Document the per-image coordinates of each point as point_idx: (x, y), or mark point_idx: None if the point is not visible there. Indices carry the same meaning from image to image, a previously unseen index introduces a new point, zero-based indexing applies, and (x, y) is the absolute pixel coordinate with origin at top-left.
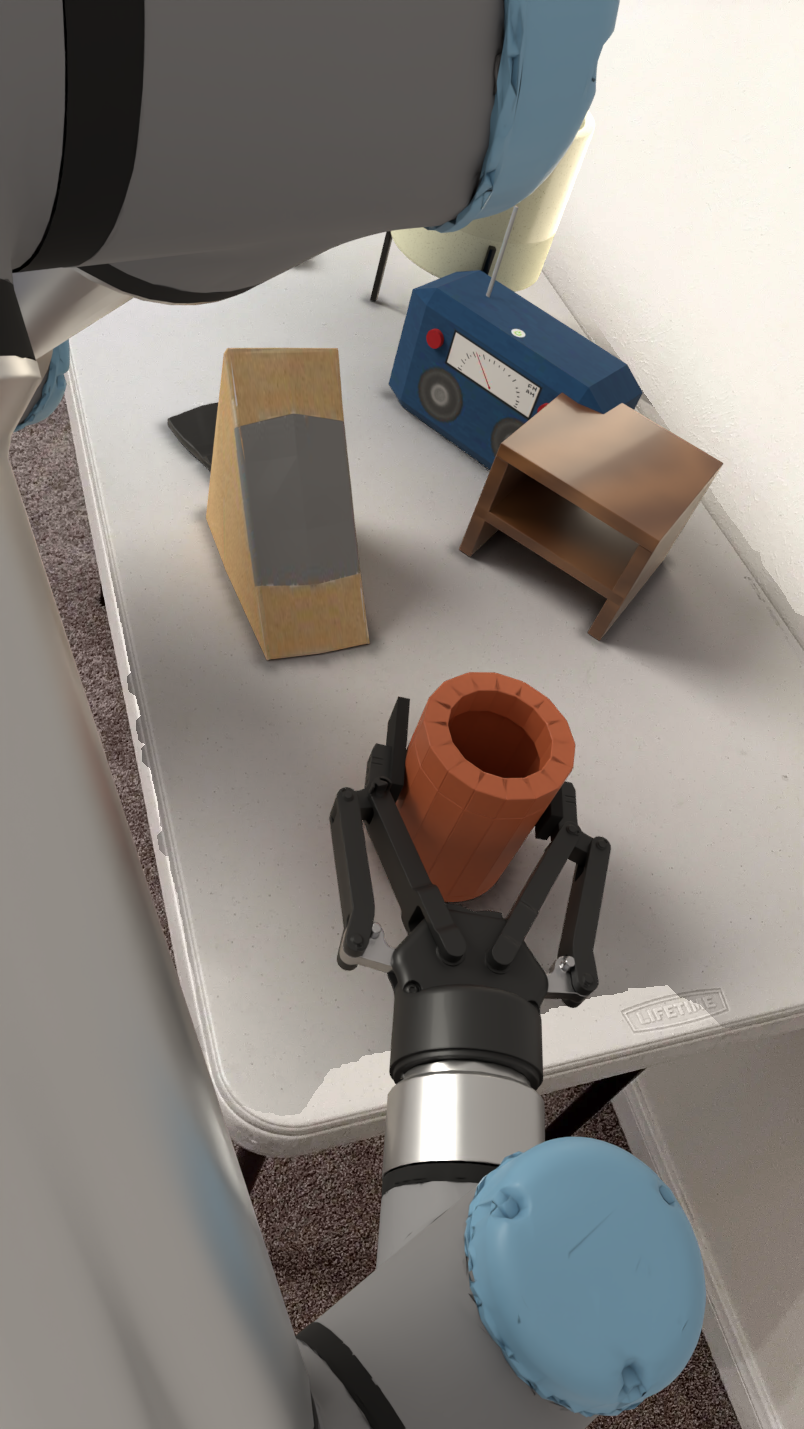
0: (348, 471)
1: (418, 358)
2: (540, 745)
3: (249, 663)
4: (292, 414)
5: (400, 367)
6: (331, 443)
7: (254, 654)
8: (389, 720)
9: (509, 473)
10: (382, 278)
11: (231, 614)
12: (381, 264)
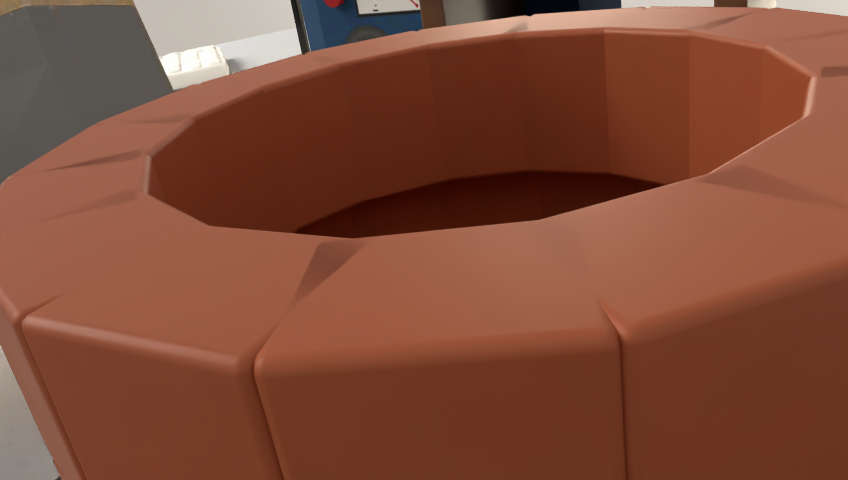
0: (162, 72)
1: (330, 36)
2: (718, 159)
3: (10, 461)
4: (24, 7)
5: None
6: (116, 37)
7: (29, 441)
8: None
9: (456, 19)
10: (308, 45)
11: (9, 389)
12: (299, 29)
